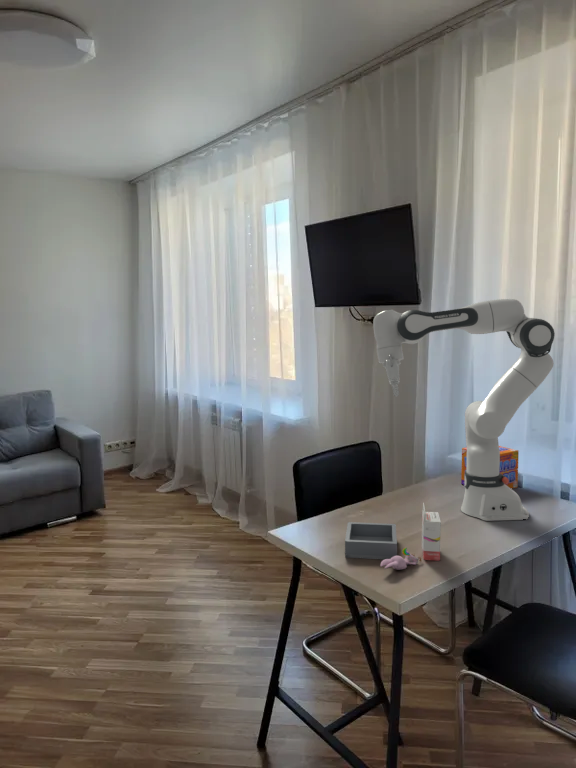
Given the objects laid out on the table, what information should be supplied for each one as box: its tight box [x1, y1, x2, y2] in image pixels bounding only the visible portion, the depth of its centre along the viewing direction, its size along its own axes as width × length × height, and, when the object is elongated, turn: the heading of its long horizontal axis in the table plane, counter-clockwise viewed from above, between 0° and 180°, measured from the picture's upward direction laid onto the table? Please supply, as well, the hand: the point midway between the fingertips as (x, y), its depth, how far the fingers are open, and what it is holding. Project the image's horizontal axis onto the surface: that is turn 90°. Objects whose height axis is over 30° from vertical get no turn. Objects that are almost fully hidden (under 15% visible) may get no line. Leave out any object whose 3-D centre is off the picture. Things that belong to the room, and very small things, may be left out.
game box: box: [460, 445, 520, 489], centre depth 223 cm, size 16×16×16 cm
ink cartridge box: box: [421, 502, 442, 562], centre depth 161 cm, size 9×5×15 cm, turn 170°
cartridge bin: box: [344, 521, 398, 560], centre depth 167 cm, size 15×15×5 cm
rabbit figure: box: [379, 547, 423, 570], centre depth 154 cm, size 6×6×15 cm
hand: (396, 395), depth 191 cm, fingers open, 8 cm apart
